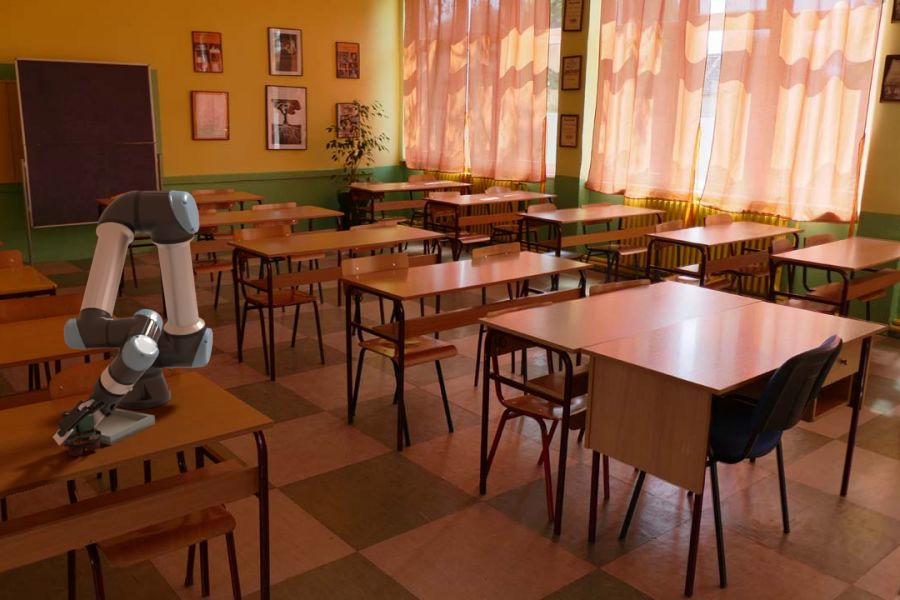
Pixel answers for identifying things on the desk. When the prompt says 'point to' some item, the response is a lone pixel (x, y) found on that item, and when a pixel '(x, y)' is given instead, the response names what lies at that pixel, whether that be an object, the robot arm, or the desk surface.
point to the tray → (122, 425)
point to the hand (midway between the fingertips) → (73, 433)
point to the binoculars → (82, 436)
